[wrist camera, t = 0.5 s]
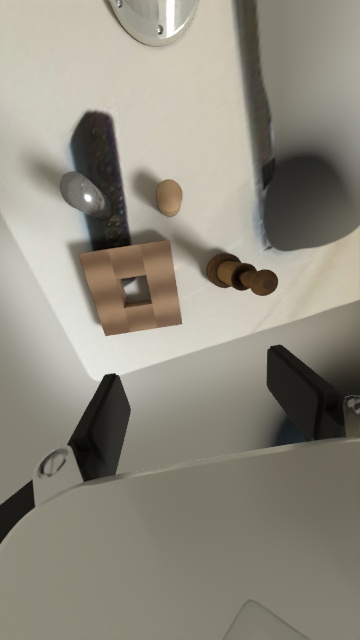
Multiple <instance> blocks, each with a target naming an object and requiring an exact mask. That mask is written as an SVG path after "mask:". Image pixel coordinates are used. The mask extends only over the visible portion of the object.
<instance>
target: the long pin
mask: <svg viewBox="0 0 360 640" xmlns="http://www.w3.org/2000/svg"><path fill="white" fill-rule="evenodd" d="M60 190H61V193H62V196H63V198H64V199H65V201H66V202H67V203H68V204H69V205H71V206H72V207H74V208H76V209H78V210H80V211H82V212H84V213H86V214H89V215H91V216H93V217H95V218H97V219H99V220H102V221H105V220H108V219H110V218H111V216H112V214H113V205H112V203H111V201H110V200H109V198H108V197H106V196H105V195H104V194H103V193H102V192H101V191H100V190H99V189H98V188H97V187H96V186H94V185H93V184H92V183H91V182H90V181H89V180H88V179H87V178H86V177H85V176H83V175H82V174H80V173H78V172H68V173H66V174H65V175H64V176H63V177H62V179H61V183H60Z"/></svg>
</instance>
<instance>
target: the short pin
mask: <svg viewBox="0 0 360 640" xmlns="http://www.w3.org/2000/svg"><path fill="white" fill-rule="evenodd" d="M156 198H157V202H158V206H159V209H160V211H161V213H162V214H163V215H165V216H167V217H172V216H174V215H176V214H177V213H178V212H179V209H180V206H181V201H182V190H181V187H180V186H179V184H178V183H177V182H175V181H174V180H169V179H168V180H164V181H162V182H161V183H160V184H159V186H158V188H157V191H156Z"/></svg>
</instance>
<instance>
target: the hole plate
mask: <svg viewBox="0 0 360 640" xmlns="http://www.w3.org/2000/svg"><path fill="white" fill-rule="evenodd" d="M78 255H79V258H80V261H81V264H82V267H83V270H84V273H85V276H86V279H87V282H88V285H89V288H90V291H91V294H92V297H93V300H94V303H95V306H96V309H97V312H98V315H99V318H100V321H101V324H102V327H103V330H104V333H105V336H109V335H116V334H122V333H128V332H135V331H141V330H147V329H154V328H160V327H167V326H173V325H179V324H182V319H181V313H180V306H179V299H178V293H177V286H176V280H175V273H174V266H173V260H172V253H171V247H170V240H164V241H158V242H151V243H145V244H138V245H132V246H126V247H119V248H113V249H106V250H100V251H93V252H87V253H80V254H78ZM141 275H146V276H147V281H148V286H149V291H150V295H151V300H147V301H141V302H134V303H128V302H127V298H126V294H125V291H124V287H123V283H122V278H129V277H135V276H141Z"/></svg>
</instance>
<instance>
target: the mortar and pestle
mask: <svg viewBox="0 0 360 640" xmlns="http://www.w3.org/2000/svg"><path fill="white" fill-rule="evenodd" d="M207 275H208V278H209V280H210V281H211V282H212V283H213V284H215V285H216V286H218V287H221V288H228V287H231V286H232V287H233V288H235V289H237V290H240V291H244V290H247V289H249V288H251V290H252V292H253V293H255V294H257V295H260V296H266V295H269V294H271V293H272V292H274V291H275V289H276V288H277V285H278V278H277V276H276V274H275V273H274V272H272V271H270V270H260V271H257V270H256V268H255V267H254V266H253V265H251V264H247V263H241V261H240V260H239V259H238V258H237V257H236V256H234V255H232V254H219V255H217V256H215V257H214V258H213V259H212V260H211V261H210V263H209V265H208V268H207Z"/></svg>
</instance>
